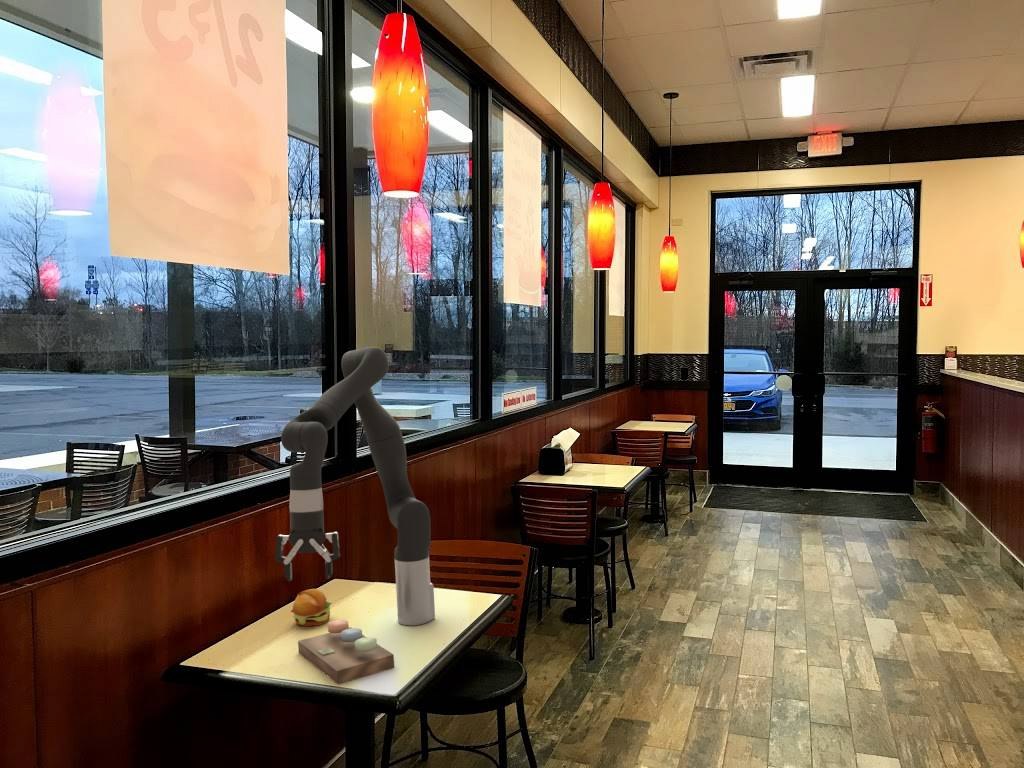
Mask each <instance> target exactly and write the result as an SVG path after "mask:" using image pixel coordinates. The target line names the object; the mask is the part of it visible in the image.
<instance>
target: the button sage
mask: <svg viewBox="0 0 1024 768" xmlns="http://www.w3.org/2000/svg"><path fill="white" fill-rule="evenodd" d="M377 640H378V639H377V638H375V637H373V636H372V637H371V636H370V637H369V636H365V638H360V639H358V640H356V641H355V650H356V651H358V652H369V651H372V650H375V649H376V648H377V644H378V643H377V642H378V641H377Z"/></svg>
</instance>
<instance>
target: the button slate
mask: <svg viewBox="0 0 1024 768" xmlns="http://www.w3.org/2000/svg"><path fill="white" fill-rule="evenodd" d="M362 635H363V630H362V629H361V628H357V627H351V628H350V629H346V630H343V631H342V632H341V641H343V642H355V641H356V640H358V639H360V638H362Z"/></svg>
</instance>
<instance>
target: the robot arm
mask: <svg viewBox="0 0 1024 768" xmlns="http://www.w3.org/2000/svg"><path fill="white" fill-rule="evenodd" d="M340 363H341V371H342V375H343V377H344V379H342V380H341V381H339V382H337V383H336V384H334V385H333V386H331V387H330V388H329V389H327V390H326V391H324V392H323V393H322V394H321V395H320V396H319V397H318V398H317V400H315V402H314V403H313V404H312V405H311V407H309V408H308V409H307V410H305V411H303V412H302V413H299V414H298V415H297V416H295V417H293V419H291V420H289V421H288V423H287V424H286V425H285V426H284V428H283V429H282V432H281V437H280V440H281V441H280V442H281V445H282V447H283V448H284V449H285V450H286V451H288V452H291V453H304V457H303V460H302V461H301V462H298V463H297V462H296V463H295V464H293V465H292V466H290V469H289V487H290V489H289V491H290V493H289V506H288V509H289V525H290V526H289V527H290V529H289V530H290V532H289V535H286V534H285V535H284V534H281V533H280V534H278V535H277V536H276V539H275V558H274V559H275V562H276V563H281V564H283V566H284V567H283V570H284V577H285V579H287V581H288V582H291V581H292V580H293V564H292V562H291V561H292V560H293V558H294V557H295V556H296V555H297V553H299V554H306V553H309V554H314V553H316V552H317V553H318V554H319V555H320V556H321V557H322V558H323V559H324V560H325V562H324V569H325V570H324V571H325V579H327V580H328V579H330V577H331V576H332V575H333V561H334V560H337V559H339V558H340V557H341V550H340V539H339V537H340V536H339V532H338V531H337V530H336V531H334V532H327V533H326V531H325V524H324V523H325V520H324V519H325V518H324V497H323V495H324V494H323V487H322V486H323V484H322V468H323V464H324V459H325V455H326V451H327V447H328V442H329V441H328V440H329V436H328V431H329V430H331V429H332V428H333V427H335V425H336V424H337V423H338V422H339V420H340V419H341V418H342V416H344V414H345V413H347V411H348V410H349V408H351V406H352V405H353V404H354V405H355V407H356V410H357V412H358V415H359V417H360V418H359V419H360V421H361V425H362V426H363V430H364V434H365V438H366V441H367V444H368V448H369V451H370V455H371V458H372V460H373V463H374V466H375V469H376V471H377V474H378V477H379V479H380V481H381V485H382V489H383V493H384V494H383V495H384V499H385V503H386V508H387V514H388V517H389V518H388V519H389V521H390V523H391V524H392V526H393V527H394V528H395V529H397V546H396V547H395V548H394V569H395V570H394V571H395V590H396V608H397V611H396V612H397V622H398V624H400V625H404V626H419V625H424V624H427V623H430V622H431V621H432V620H435V619H436V613H435V612H436V610H435V591H434V589H435V588H434V584H433V583H432V582H431V571H430V570H431V569H430V555H429V554H430V547H431V543H432V540H431V539H432V538H431V537H432V536H431V535H432V533H431V532H432V531H431V530H432V529H431V528H432V527H431V515H430V510H429V508H428V507H427V505H426V504H425V503H424V502H423V501H420V500H418V499H417V498H416V497H415V494H414V492H413V489H412V487H411V484H410V482H409V477H408V471H407V468H408V467H407V465H408V463H407V461H408V459H407V449H406V444H405V440H404V437H403V434H402V431H401V428H400V425H399V424H398V421H396V419H395V418H394V417H393V416H392V415H391V414H390V413H389V411H387V409H385V408H384V407H383V405H381V403H380V402H379V401H378V400H377V398H376V396H375V394H374V392H373V389H372V387H373V386H376V384H377V383H379V382H380V381H381V380H383V379H384V378H385V377H386V375H387V373H388V372H389V367H390V363H389V357H388V355H387V353H386V352H385V351H384V349H382V348H381V347H379V346H366V347H362V348H357V349H353V350H349V351H347V352H345V353H344V354H343V355H342V358H341V362H340ZM326 539H327V540H328V541H329V543H331V544H332V553H330V552H329V550H328V549H327V548H326V547H325V545H324V542H326ZM287 541H289V543H290V544H291V546H292V548H291V550H290V551H289V553H288V555H286V556H284V545H286V544H287Z"/></svg>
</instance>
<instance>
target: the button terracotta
mask: <svg viewBox="0 0 1024 768" xmlns="http://www.w3.org/2000/svg"><path fill="white" fill-rule="evenodd" d="M349 627H350V626H349V621H348V620H347V619H336V620H332V621H329V622H328V623H327V633H341V632H342V631H343V630H346V629H349Z"/></svg>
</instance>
